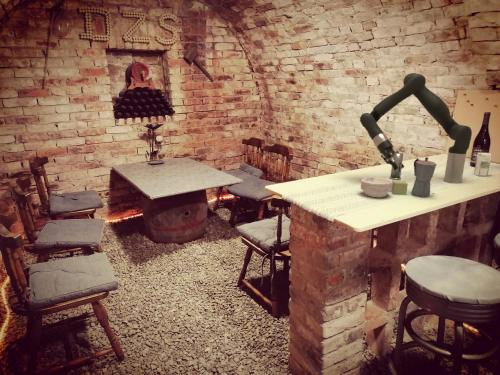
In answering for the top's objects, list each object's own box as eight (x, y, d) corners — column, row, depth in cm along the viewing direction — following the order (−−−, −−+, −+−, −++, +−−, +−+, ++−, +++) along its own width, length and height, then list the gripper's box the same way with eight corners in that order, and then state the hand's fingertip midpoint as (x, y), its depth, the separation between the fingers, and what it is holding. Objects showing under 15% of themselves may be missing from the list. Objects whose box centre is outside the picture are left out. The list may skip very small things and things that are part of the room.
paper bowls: (366, 189, 193) (368, 175, 191) (395, 194, 184) (396, 179, 182) (355, 195, 182) (356, 180, 179) (384, 201, 172) (386, 185, 170)
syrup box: (482, 174, 229) (486, 152, 225) (487, 176, 223) (492, 154, 220) (473, 174, 230) (477, 152, 226) (478, 176, 224) (482, 153, 220)
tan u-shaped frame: (382, 185, 200) (383, 175, 198) (401, 186, 199) (402, 176, 197) (389, 194, 184) (390, 182, 183) (409, 195, 183) (410, 183, 181)
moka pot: (422, 199, 175) (428, 160, 170) (401, 191, 189) (406, 154, 184) (438, 198, 178) (444, 159, 172) (416, 190, 192) (421, 153, 186)
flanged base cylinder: (388, 177, 196) (391, 152, 192) (399, 177, 195) (402, 152, 191) (390, 179, 190) (393, 154, 186) (402, 180, 189) (405, 154, 186)
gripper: (379, 140, 189) (397, 166, 183) (395, 138, 197) (412, 163, 191) (370, 148, 194) (387, 174, 188) (385, 146, 202) (402, 170, 196)
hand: (399, 168), depth 190 cm, fingers closed on flanged base cylinder, 5 cm apart
